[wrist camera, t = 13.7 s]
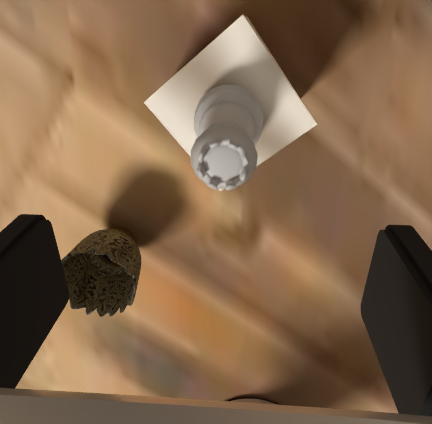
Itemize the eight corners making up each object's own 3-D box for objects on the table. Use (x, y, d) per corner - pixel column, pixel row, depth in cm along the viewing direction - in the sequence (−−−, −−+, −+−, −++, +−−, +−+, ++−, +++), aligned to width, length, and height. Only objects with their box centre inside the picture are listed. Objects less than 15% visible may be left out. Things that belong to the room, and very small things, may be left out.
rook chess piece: (235, 163, 25) (231, 224, 18) (181, 124, 24) (156, 174, 17) (277, 111, 23) (292, 158, 16) (222, 67, 22) (212, 97, 15)
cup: (77, 213, 39) (39, 258, 32) (143, 204, 38) (119, 249, 31) (100, 269, 42) (71, 320, 35) (161, 262, 41) (143, 314, 34)
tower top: (223, 167, 30) (220, 191, 26) (158, 89, 28) (143, 102, 24) (306, 108, 27) (317, 124, 24) (243, 13, 25) (242, 14, 21)
